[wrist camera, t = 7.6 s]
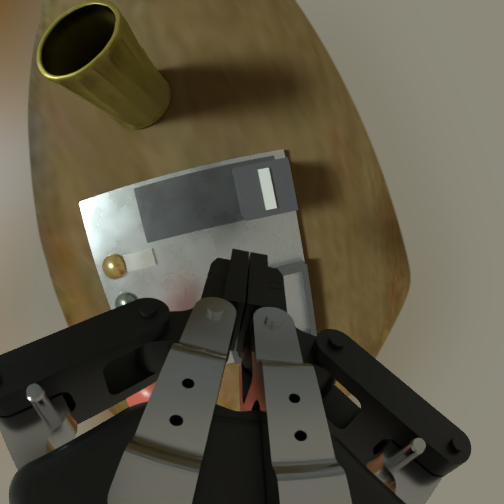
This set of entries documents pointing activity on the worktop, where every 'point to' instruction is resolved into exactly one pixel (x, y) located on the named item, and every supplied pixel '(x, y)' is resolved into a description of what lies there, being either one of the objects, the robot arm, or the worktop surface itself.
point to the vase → (103, 64)
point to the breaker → (265, 189)
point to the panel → (190, 239)
